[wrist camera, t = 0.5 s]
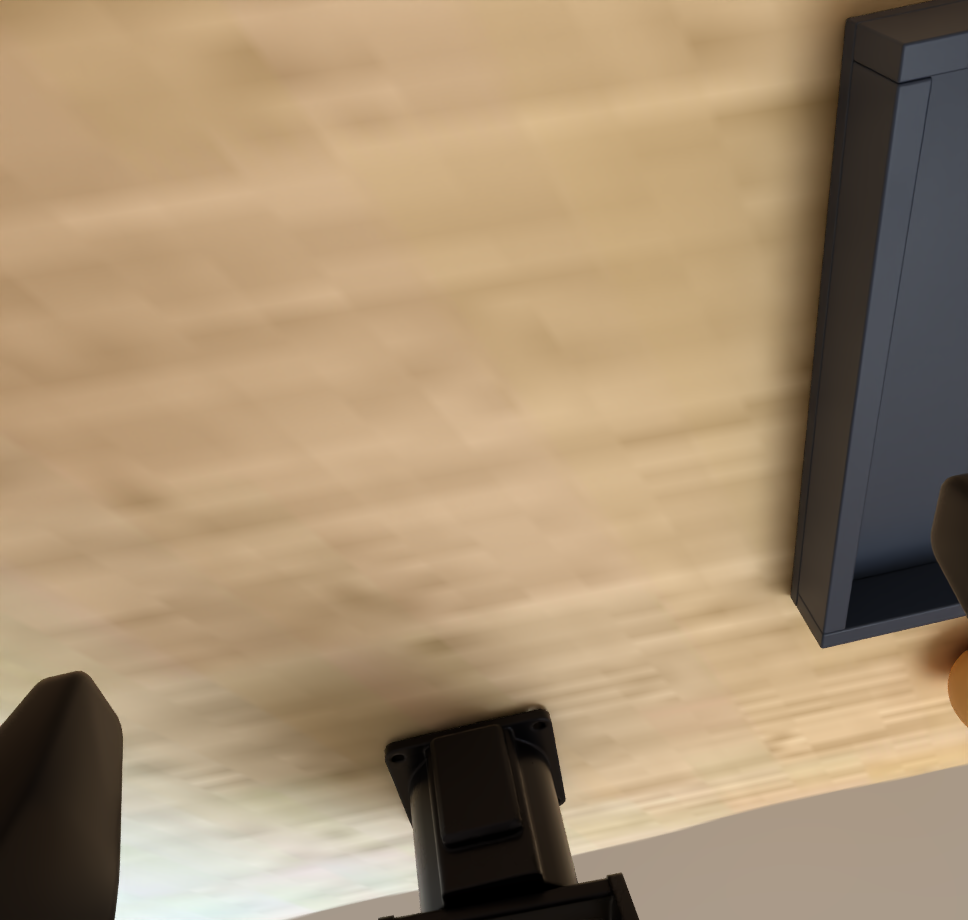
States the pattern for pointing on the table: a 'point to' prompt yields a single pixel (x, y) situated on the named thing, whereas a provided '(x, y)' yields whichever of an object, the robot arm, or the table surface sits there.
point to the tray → (889, 331)
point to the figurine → (959, 687)
